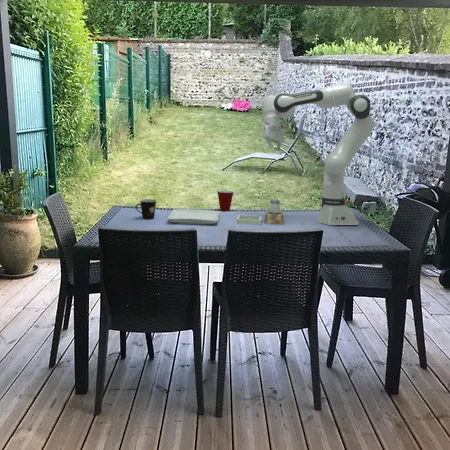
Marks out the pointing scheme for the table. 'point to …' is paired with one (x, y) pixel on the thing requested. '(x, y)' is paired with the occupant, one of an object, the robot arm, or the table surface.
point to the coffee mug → (147, 208)
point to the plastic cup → (225, 199)
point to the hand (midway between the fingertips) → (274, 149)
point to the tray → (254, 218)
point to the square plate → (193, 216)
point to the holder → (274, 218)
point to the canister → (274, 207)
